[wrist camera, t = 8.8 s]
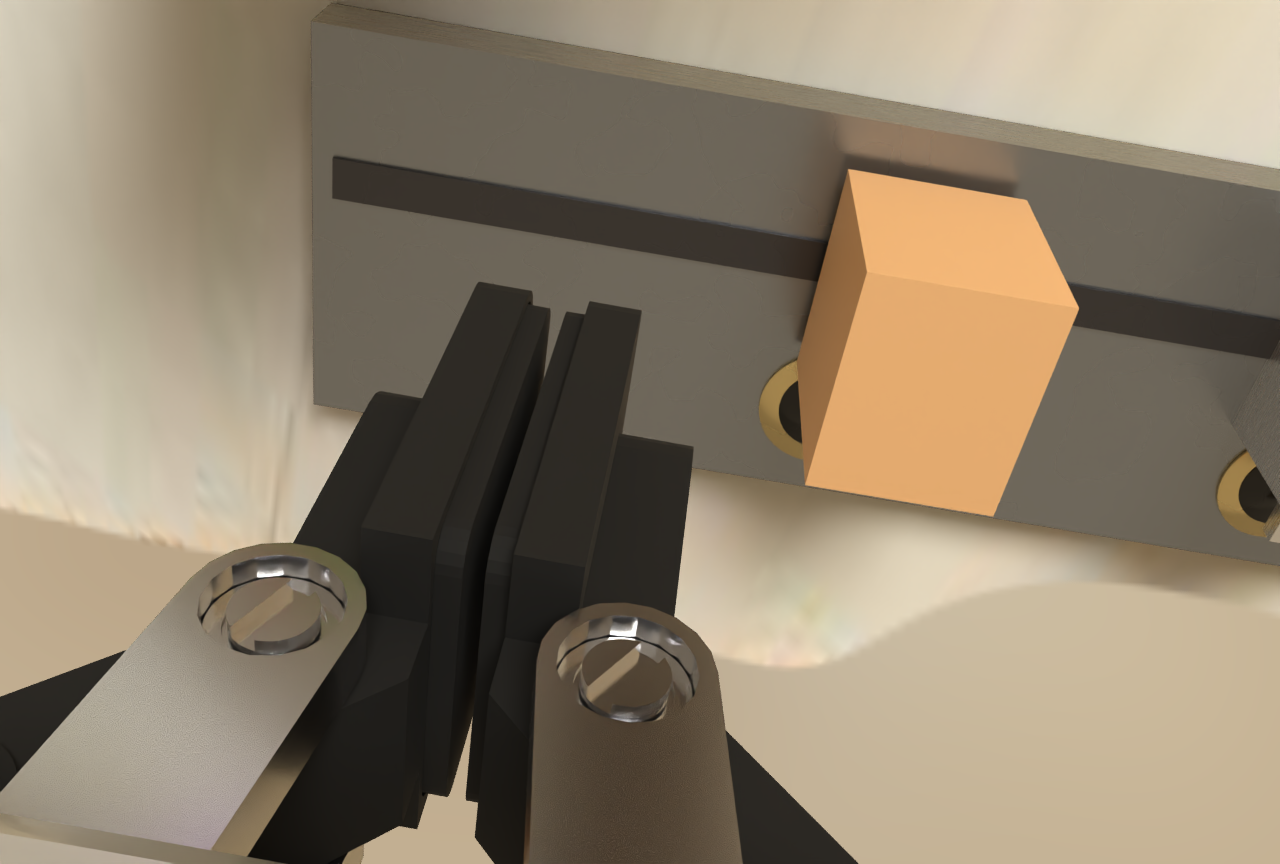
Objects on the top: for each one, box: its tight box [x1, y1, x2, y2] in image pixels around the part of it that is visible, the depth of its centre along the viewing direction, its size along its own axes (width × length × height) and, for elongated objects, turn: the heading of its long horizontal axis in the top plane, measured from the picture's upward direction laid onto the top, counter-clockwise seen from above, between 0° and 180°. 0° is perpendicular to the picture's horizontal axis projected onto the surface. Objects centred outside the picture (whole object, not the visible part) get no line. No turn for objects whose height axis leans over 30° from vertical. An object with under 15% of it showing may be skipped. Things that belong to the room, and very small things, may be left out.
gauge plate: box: [311, 3, 1280, 566], centre depth 27 cm, size 28×10×7 cm, turn 81°
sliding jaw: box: [797, 169, 1079, 516], centre depth 26 cm, size 4×8×5 cm, turn 171°
